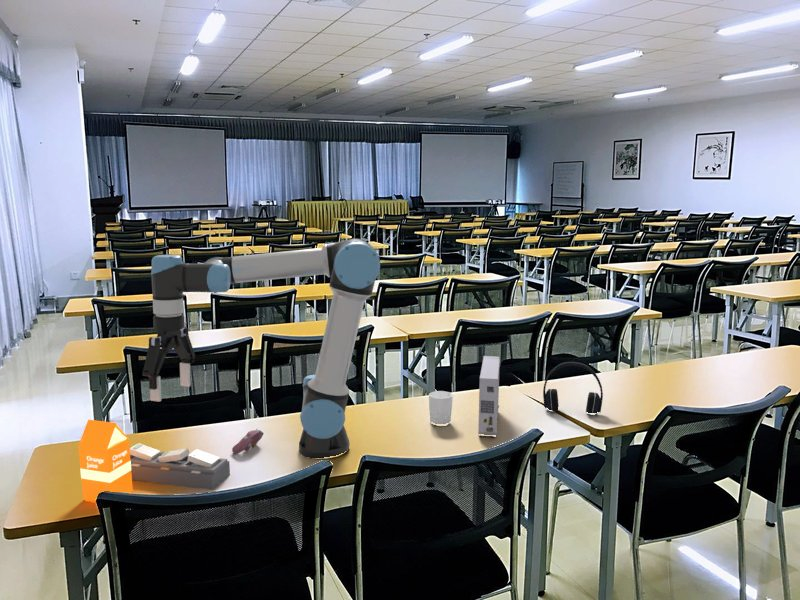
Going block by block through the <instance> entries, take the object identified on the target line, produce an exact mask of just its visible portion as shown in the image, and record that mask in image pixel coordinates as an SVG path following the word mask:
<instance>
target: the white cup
mask: <svg viewBox="0 0 800 600" xmlns="http://www.w3.org/2000/svg"><path fill="white" fill-rule="evenodd" d="M453 397H454V396H453V393H452V392H450V391H444V390H438V391H436V390H435V391H431V392H430V393H428V402H429V404H428V406H429V408H428V409H429V420H430V421H431V422H433V423H435V424H446V423H449V422H450V421H451V422H452V419H451V418H452V409H453Z"/></svg>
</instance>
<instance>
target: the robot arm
mask: <svg viewBox="0 0 800 600" xmlns="http://www.w3.org/2000/svg"><path fill="white" fill-rule="evenodd" d="M380 270H381V260H380V256H379V254H378V252H377V250H376V249H375V248H374V247H373V246H372V245H371V244H370V243H369V242H367V241H365V240H363V239H361V238H351V239H347V240H342V241H337V242H333V243H332V242H331V243H324V245H323V246H322V247H319V248H318V247H317V248H308V249H307V248H306V249H298V250H287V251H278V252H275V251H274V252H266V253H265V252H264V253H256V254H246V255H238V256H230V257H229V256H228V257H220V256H215V257H211V258H209V259H207V260H206V261H204V262H202V263H188V262H187V263H186V262H183V258H182V256H181V255H179V254H178V255H177V254H159V255H155V256H153V257H152V259H151V272H150V275H151V276H150V277H151V289H152V290H151V291H152V311H153V312H152V314H154V315H153V317H152V319H153V321H152V322H153V330H155V331H156V333H157V336H156V337H155V336H154V337H149V338H148V348H147V353H146V356H145V361H144V364H143V365H144V366H143V368H142V376H143V377H148V389H149V395H150V396H149V398H150V400H149V401H151V402H152V401H153V402H158V403H159V402H161V401H162V386H161V384H162V382H161V381H162V380H161V378H162V377H161V376H160V375H159V374H160V372H161V368H162V366H163V364H164V361H165V359H166V356H167V355H168V354H170V351H172V350H174V351H175V353H176V355H177V356H178V358H179V360H180V361H181V362H179V378H180V379H179V380H180V381H179V382H180V383H179V384H180V387H188V388H190V387H191V385H192V384H191V371H192V370H191V364H192V363H193V364H194V362H195V358H196V354H195V351H194V348H193V344H192V341H191V339H190V335H189V328H188V327H185V317H184V316H185V315H183V313H184V311H185V310H184V293H213V294H218V293H226V292H229V290H230V287H231V285H233V284H238V283H252V282H259V281H270V280H280V279H288V278H289V279H291V278H292V279H293V278H299V277H301V278H302V277H311V276H319V275H321V276H322V275H325V276H327V277H328V278H330V281H329V288H330V290H331V291H332V294H333V295H332V298H331V302H330V307H329V312H328V317H327V320H326V325H325V330H324V334H323V339H322V343H321V346H320V347H321V348H320V351H319V357H318V362H317V366H316V370H315V373H314V374H310V375H306V376H305V377H304V378H303V380H302V381H303V382H302V387H303V388H302V389H303V392H302V393H303V398H302V406H301V412H300V417H299V418H300V422H301V426H302V428H303V430H302V433H301V435H300V438H299V441H298V452H299V454H300V455H301V456H303V457H304V458H305V457H306V458H307V457H309V458H308V459H312V458H324V457H330V456H336V455H339V454H341V453H344V452H345V451H347V450H348V449H349V446H350V438H349V436H348V433H347V431H346V428H345V422H346V414H345V413H346V408H347V405H348V400H349V395H350V389H349V388H348V385H347V384H346V383H347V379H348V375H349V371H350V366H351V362H352V357H353V352H354V350H355V349H354V348H355V343H356V341H357V340H356V339H357V335H358V331H359V327H360V321H361V318H362V314H363V311H364V310H363V309H364V305H365V301H366V300H367V299H369V298H370V297H372V295H373V292H374V291H373V290H374V287H375V284H376V283H375V282H376V279H377V278H378V276H379V274H380ZM349 450H350V449H349Z"/></svg>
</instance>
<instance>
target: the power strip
mask: <svg viewBox="0 0 800 600" xmlns="http://www.w3.org/2000/svg"><path fill="white" fill-rule="evenodd" d="M164 453H165V451H161V452H160V456H161V455H162V454H164ZM187 460H188V455H187V456H186V457H185V458H183V459H182V460H177V461H170V462H159V461H158V458H156V459H155V460H153V461H147V460H144V459H141V458H138V457H136V456H133V455H130V461H131V475H132V481H139V482H140V481H141V482H148V483H155V484H163V485H172V486H178V487H179V486H180V487H181V486H182V487H188V488H195V489H197V488H198V489H203V490H204V489H205V490H215V489H216V488H217V487H218V486H219V485H221V483H222V482H223V481H225V480H226V479H227V478H229V476H230V475H231V469H230V467H231V465H230V461H229V460H228V458H221V457H219V463H218V464H217V465H215V466H214V467H213V468H208V467H204V466H201V465H198V464H196V463H193V462H190V461H187Z"/></svg>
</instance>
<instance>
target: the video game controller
mask: <svg viewBox="0 0 800 600" xmlns="http://www.w3.org/2000/svg"><path fill="white" fill-rule="evenodd" d="M263 436H264V432H263V431H262V430H261V429H257V428H256V429H254V430H250V431H248V432H247V433H246V434H245V435H244V436H243V437H242V438H241V439H240V440H239V442H238V443H236V444H234V446H232V449H231V452H232V453H233V454H235V455H237V454H241V453H242V452H243V451H244V452H246V453H247V452H249V451H250V450H251V448H252V449H253V448H255V447H256V446H257V444H258V443H259V442H260V440H261V439H262V437H263Z"/></svg>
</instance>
